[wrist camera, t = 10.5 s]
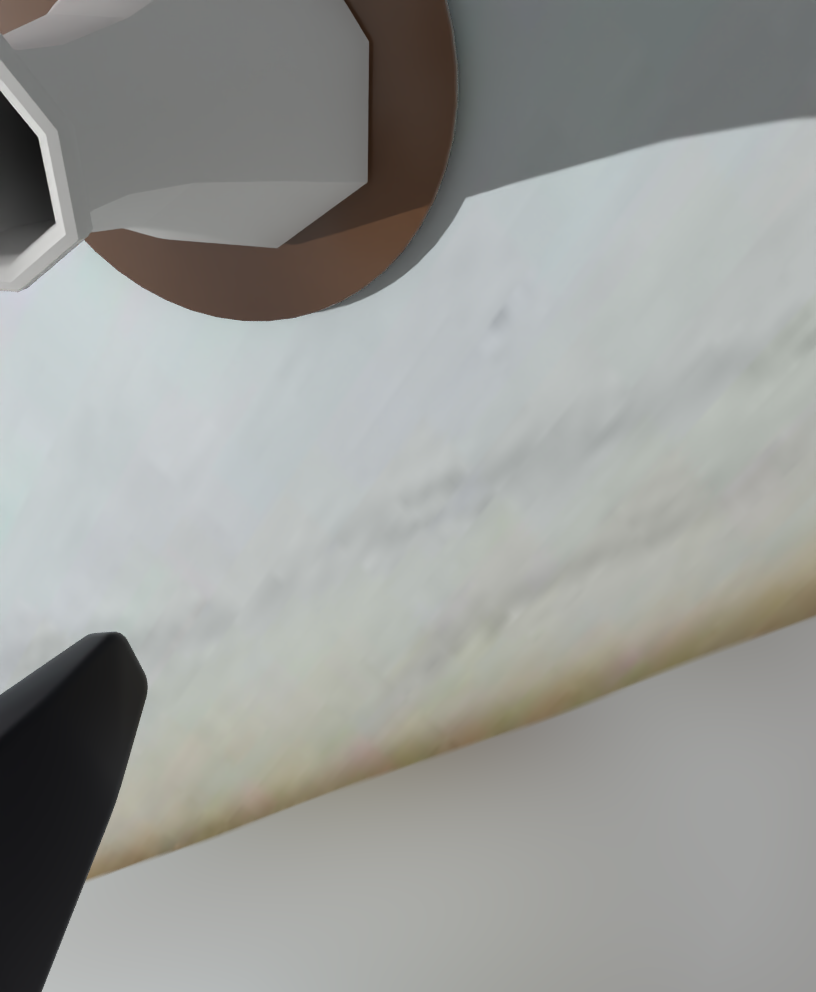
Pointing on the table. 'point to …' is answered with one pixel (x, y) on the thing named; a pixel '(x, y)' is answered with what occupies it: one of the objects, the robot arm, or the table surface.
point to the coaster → (347, 226)
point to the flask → (177, 123)
